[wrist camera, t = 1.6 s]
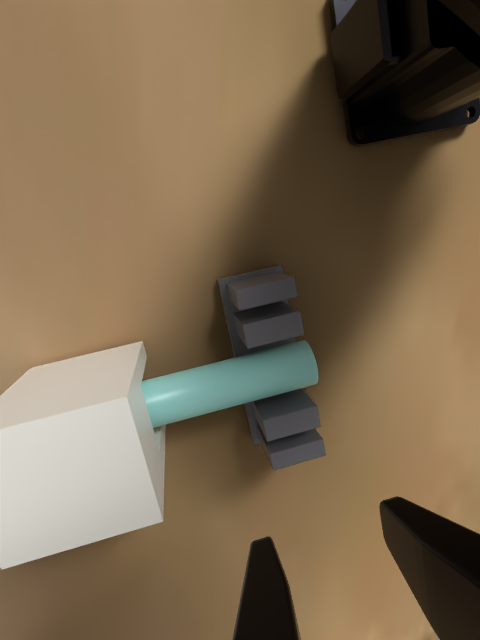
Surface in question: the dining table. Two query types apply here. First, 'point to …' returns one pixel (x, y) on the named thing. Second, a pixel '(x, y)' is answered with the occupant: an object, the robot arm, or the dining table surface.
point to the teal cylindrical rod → (229, 383)
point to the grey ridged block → (265, 333)
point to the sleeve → (78, 455)
